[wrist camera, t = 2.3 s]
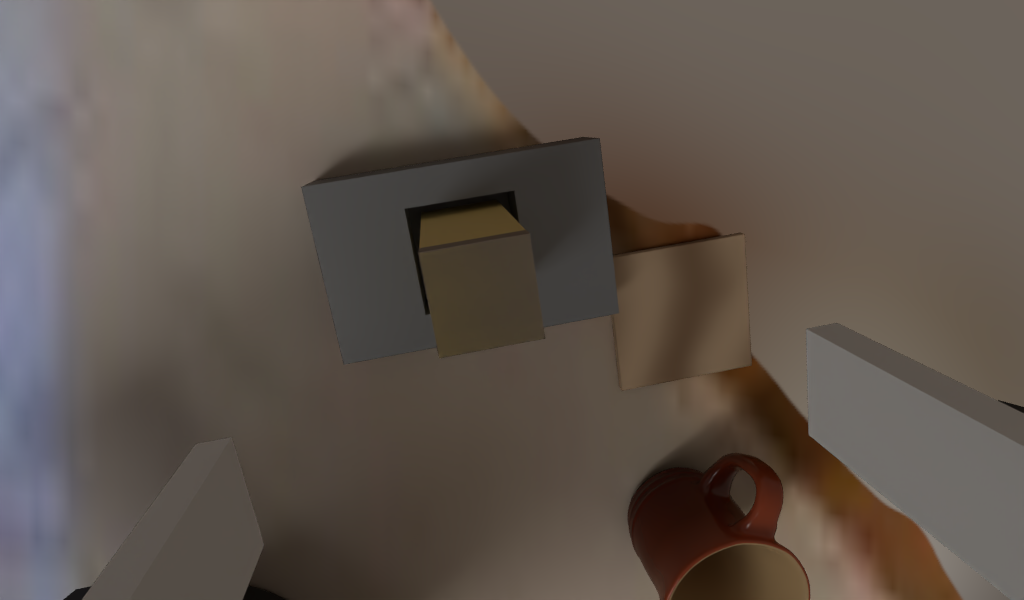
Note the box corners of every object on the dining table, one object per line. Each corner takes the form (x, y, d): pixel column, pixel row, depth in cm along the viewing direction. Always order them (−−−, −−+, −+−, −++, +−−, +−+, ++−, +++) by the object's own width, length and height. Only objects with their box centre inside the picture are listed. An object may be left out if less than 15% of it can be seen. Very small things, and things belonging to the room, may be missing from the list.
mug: (704, 569, 48) (775, 682, 38) (595, 547, 46) (641, 661, 37) (765, 424, 46) (858, 507, 36) (652, 396, 44) (717, 474, 34)
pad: (619, 387, 43) (622, 390, 43) (604, 257, 41) (607, 258, 40) (747, 362, 44) (751, 365, 44) (740, 232, 42) (744, 234, 41)
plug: (435, 285, 39) (439, 358, 27) (421, 211, 38) (418, 252, 26) (508, 272, 40) (545, 338, 27) (496, 199, 39) (530, 233, 26)
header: (351, 342, 40) (343, 364, 36) (313, 180, 38) (301, 186, 34) (601, 296, 42) (619, 313, 38) (582, 137, 39) (599, 138, 35)
